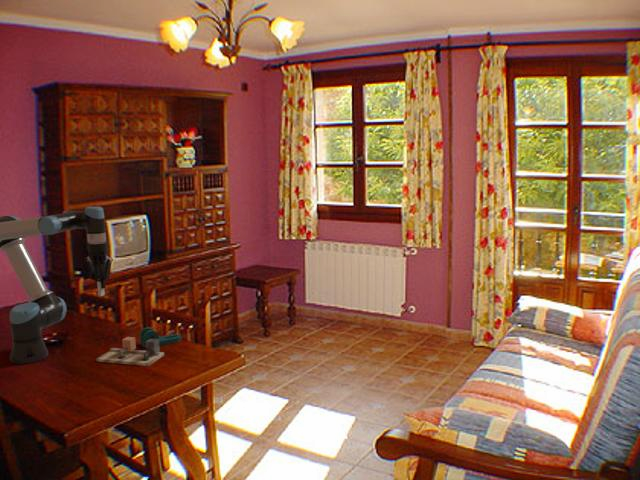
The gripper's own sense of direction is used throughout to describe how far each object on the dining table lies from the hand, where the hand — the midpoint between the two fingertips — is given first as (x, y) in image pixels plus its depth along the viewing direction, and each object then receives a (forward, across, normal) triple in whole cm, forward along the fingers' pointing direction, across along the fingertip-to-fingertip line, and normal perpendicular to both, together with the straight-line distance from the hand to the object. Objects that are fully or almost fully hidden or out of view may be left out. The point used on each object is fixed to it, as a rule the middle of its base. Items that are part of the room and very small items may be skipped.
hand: (101, 295), depth 262 cm
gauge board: (+26, +14, -4) cm, 30 cm away
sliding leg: (+25, +12, -2) cm, 28 cm away
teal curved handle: (+27, +18, +17) cm, 37 cm away
